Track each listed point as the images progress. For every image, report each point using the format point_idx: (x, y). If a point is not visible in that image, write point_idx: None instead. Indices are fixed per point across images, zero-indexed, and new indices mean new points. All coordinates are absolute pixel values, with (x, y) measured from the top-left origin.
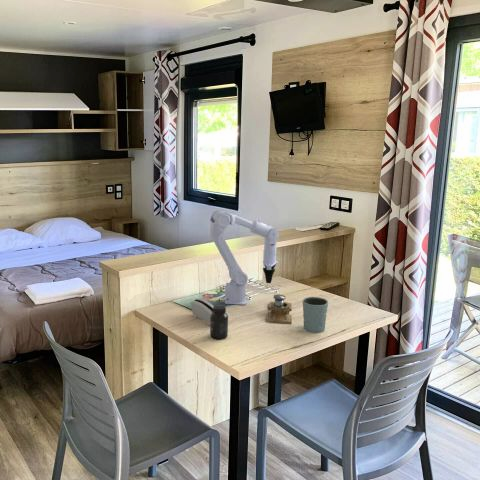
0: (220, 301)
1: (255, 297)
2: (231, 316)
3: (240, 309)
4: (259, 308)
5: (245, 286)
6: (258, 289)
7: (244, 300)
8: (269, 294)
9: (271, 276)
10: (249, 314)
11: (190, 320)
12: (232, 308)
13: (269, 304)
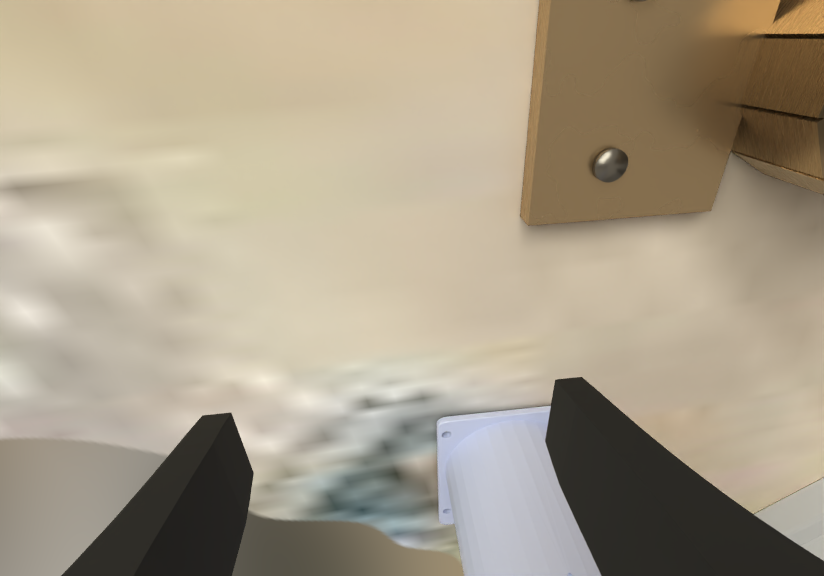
0: None
1: (356, 365)
2: (792, 428)
3: (666, 409)
4: (656, 290)
5: (578, 563)
6: (89, 381)
7: (538, 432)
8: (198, 256)
9: (727, 519)
10: (785, 339)
11: None
12: None
13: (622, 217)
